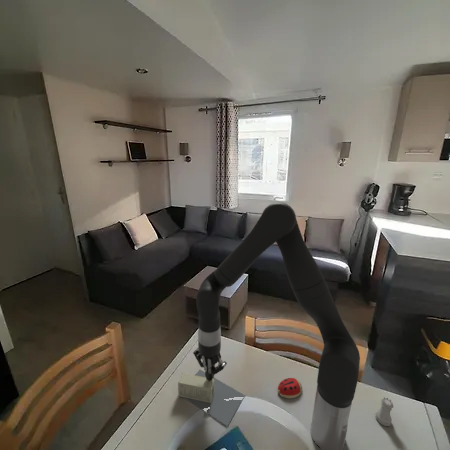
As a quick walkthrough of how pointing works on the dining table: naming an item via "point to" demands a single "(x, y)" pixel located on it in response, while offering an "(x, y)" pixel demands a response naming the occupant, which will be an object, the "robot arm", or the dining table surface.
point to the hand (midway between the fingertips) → (209, 378)
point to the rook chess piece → (384, 412)
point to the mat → (220, 401)
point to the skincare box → (196, 387)
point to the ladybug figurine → (290, 388)
